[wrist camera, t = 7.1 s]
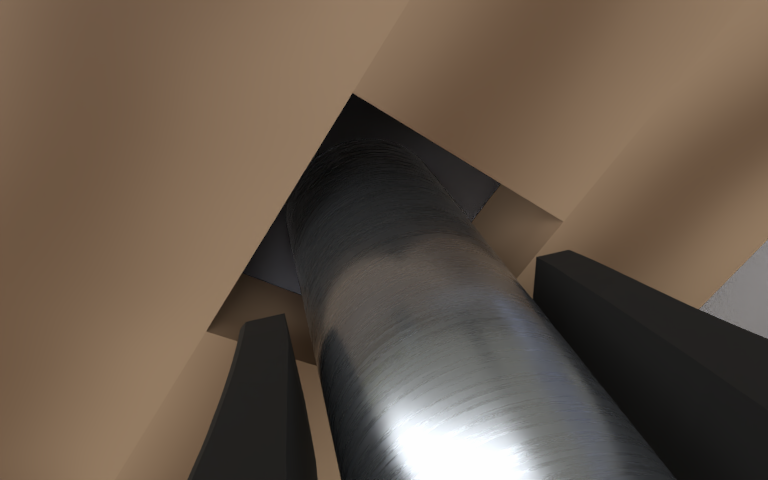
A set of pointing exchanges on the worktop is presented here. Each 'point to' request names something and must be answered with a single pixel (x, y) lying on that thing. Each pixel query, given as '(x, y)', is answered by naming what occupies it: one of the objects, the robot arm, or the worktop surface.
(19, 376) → the hole plate
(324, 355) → the long pin
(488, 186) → the worktop surface
